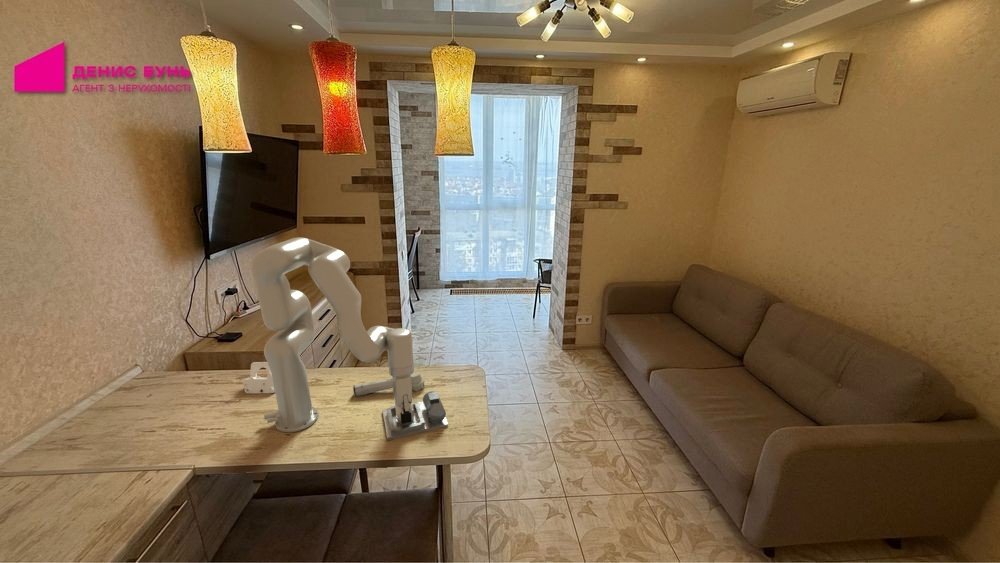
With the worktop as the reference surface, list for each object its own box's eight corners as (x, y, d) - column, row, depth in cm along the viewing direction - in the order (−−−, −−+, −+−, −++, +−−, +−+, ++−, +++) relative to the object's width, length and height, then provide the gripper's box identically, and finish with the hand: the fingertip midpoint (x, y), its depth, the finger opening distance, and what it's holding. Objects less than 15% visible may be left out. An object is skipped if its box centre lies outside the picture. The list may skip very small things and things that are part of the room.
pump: (397, 426, 124) (395, 403, 121) (395, 415, 129) (393, 394, 126) (415, 422, 126) (414, 400, 123) (412, 411, 131) (411, 390, 128)
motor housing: (387, 440, 120) (385, 418, 117) (382, 412, 133) (380, 391, 130) (447, 426, 126) (447, 404, 124) (437, 400, 140) (436, 380, 137)
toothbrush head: (354, 382, 144) (421, 366, 148) (358, 397, 146) (425, 381, 150) (352, 390, 139) (422, 373, 143) (356, 405, 141) (425, 389, 146)
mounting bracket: (282, 390, 148) (284, 361, 149) (274, 393, 142) (275, 363, 143) (250, 391, 147) (252, 362, 149) (240, 394, 141) (242, 363, 142)
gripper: (386, 356, 128) (390, 404, 133) (392, 384, 113) (396, 436, 118) (409, 353, 130) (412, 399, 136) (418, 379, 115) (421, 430, 121)
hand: (404, 416), depth 127 cm, fingers closed on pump, 5 cm apart
